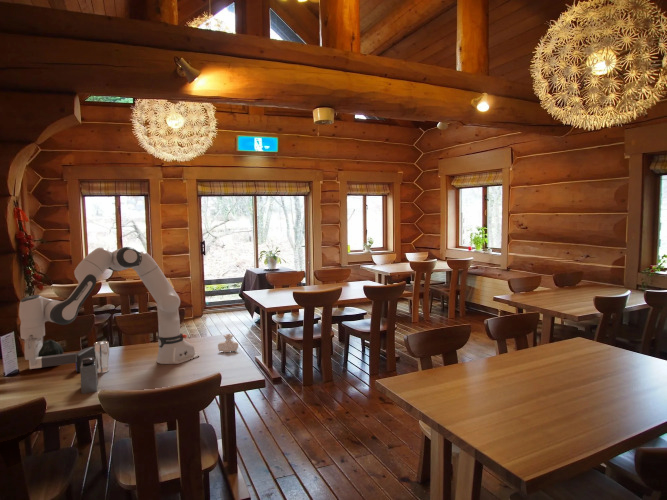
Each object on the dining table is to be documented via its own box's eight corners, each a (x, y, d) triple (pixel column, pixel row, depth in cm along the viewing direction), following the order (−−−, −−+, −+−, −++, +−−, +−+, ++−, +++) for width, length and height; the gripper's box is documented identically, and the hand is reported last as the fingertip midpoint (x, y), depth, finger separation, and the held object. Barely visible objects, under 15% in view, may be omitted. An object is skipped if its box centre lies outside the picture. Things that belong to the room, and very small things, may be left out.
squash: (26, 354, 232) (30, 337, 225) (58, 349, 243) (63, 333, 236) (31, 376, 225) (35, 360, 218) (63, 370, 236) (68, 354, 229)
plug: (76, 360, 197) (76, 352, 197) (76, 362, 195) (75, 354, 194) (30, 366, 189) (30, 358, 189) (29, 369, 187) (28, 360, 187)
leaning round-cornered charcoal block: (87, 362, 235) (86, 346, 234) (96, 362, 235) (95, 345, 234) (70, 373, 219) (69, 355, 218) (79, 373, 219) (79, 355, 218)
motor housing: (97, 383, 205) (96, 354, 204) (96, 391, 195) (95, 361, 194) (83, 385, 203) (81, 356, 202) (81, 393, 193) (79, 363, 192)
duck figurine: (238, 354, 254) (240, 336, 260) (236, 350, 247) (238, 331, 254) (218, 355, 253) (220, 337, 260) (215, 350, 247) (218, 332, 253)
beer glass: (103, 374, 217) (102, 345, 216) (91, 373, 219) (90, 344, 218) (113, 369, 224) (112, 341, 223) (101, 368, 226) (100, 340, 224)
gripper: (37, 337, 180) (39, 369, 181) (45, 326, 198) (46, 356, 199) (19, 339, 177) (21, 372, 178) (28, 328, 195) (30, 358, 196)
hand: (34, 363), depth 189 cm, fingers closed on plug, 3 cm apart
